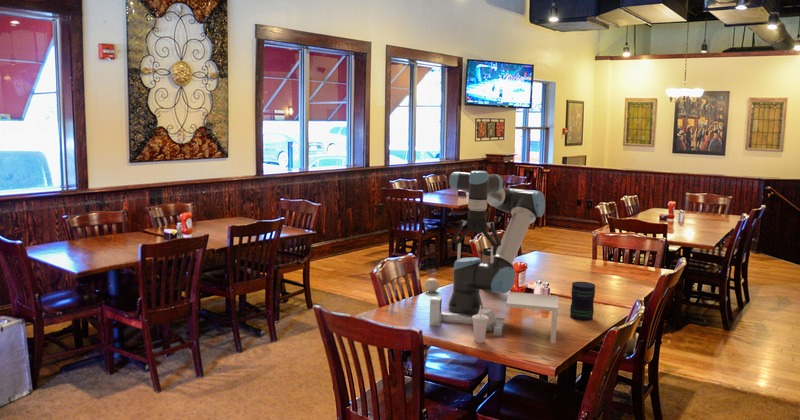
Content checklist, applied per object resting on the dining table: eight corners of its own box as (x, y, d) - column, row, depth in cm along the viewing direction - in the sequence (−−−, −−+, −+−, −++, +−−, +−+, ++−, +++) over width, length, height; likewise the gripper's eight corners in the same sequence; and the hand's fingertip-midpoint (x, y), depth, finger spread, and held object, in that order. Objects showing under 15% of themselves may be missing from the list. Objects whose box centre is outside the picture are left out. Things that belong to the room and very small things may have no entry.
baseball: (441, 291, 333) (442, 278, 332) (431, 294, 328) (432, 280, 327) (431, 289, 338) (432, 275, 337) (421, 291, 333) (421, 278, 332)
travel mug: (478, 287, 344) (480, 248, 341) (492, 286, 346) (494, 247, 343) (484, 291, 337) (486, 251, 334) (498, 290, 339) (500, 250, 336)
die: (488, 336, 270) (502, 315, 272) (469, 323, 272) (483, 302, 273) (487, 337, 279) (501, 317, 280) (469, 324, 280) (482, 304, 282)
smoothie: (486, 338, 266) (487, 303, 264) (488, 344, 259) (490, 308, 257) (469, 338, 265) (471, 303, 263) (472, 343, 259) (473, 308, 257)
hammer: (427, 328, 276) (428, 301, 275) (434, 318, 290) (435, 293, 288) (501, 335, 270) (502, 308, 268) (504, 325, 283) (505, 299, 282)
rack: (504, 337, 267) (506, 303, 265) (508, 324, 284) (509, 291, 282) (555, 343, 263) (557, 307, 261) (556, 329, 280) (558, 295, 278)
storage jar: (566, 314, 302) (568, 281, 299) (588, 314, 302) (590, 281, 300) (573, 321, 292) (576, 287, 290) (596, 321, 292) (598, 287, 290)
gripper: (445, 208, 276) (443, 260, 279) (507, 212, 269) (504, 265, 272) (449, 206, 283) (447, 256, 286) (509, 210, 276) (507, 261, 279)
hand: (475, 261), depth 279 cm, fingers open, 13 cm apart
